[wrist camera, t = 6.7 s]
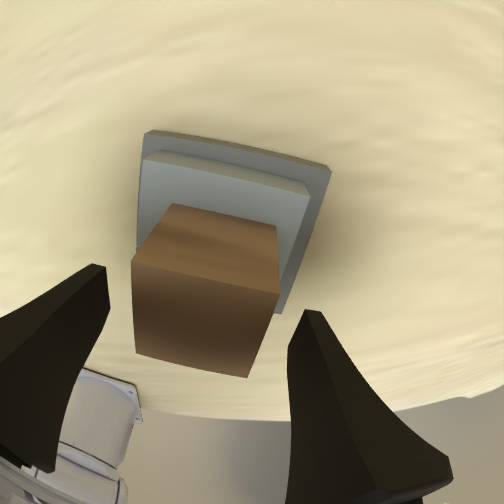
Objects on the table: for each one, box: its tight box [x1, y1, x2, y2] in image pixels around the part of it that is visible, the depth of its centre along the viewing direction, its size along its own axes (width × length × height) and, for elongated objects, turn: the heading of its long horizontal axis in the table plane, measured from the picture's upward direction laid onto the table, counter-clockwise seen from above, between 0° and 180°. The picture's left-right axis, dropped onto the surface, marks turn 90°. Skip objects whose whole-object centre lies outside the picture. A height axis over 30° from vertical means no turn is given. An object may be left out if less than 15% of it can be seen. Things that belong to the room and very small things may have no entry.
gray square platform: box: [137, 130, 332, 314], centre depth 16 cm, size 9×9×2 cm
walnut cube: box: [131, 203, 281, 378], centre depth 11 cm, size 4×4×4 cm
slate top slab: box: [136, 150, 310, 280], centre depth 14 cm, size 7×7×2 cm
